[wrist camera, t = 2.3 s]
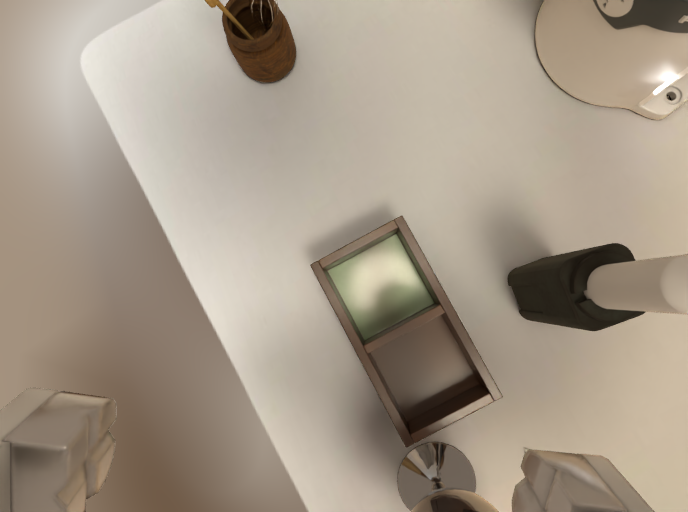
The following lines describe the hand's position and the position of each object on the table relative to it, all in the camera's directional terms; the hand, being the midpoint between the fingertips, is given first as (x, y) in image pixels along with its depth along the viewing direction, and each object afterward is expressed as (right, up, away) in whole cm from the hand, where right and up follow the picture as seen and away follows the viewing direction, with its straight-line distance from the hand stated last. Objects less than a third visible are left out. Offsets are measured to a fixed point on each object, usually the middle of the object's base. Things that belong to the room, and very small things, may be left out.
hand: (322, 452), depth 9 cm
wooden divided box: (+6, -3, +35) cm, 36 cm away
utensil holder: (-7, +24, +39) cm, 46 cm away
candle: (+19, +1, +35) cm, 40 cm away
